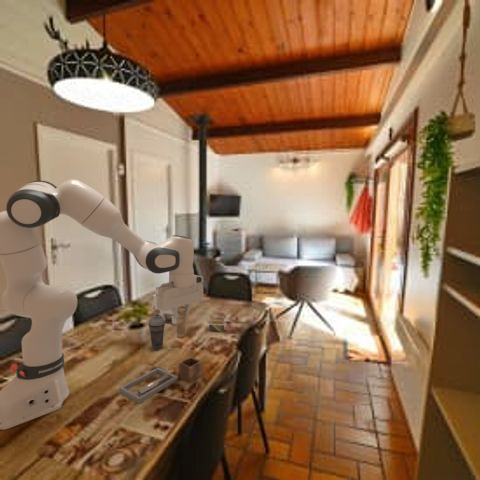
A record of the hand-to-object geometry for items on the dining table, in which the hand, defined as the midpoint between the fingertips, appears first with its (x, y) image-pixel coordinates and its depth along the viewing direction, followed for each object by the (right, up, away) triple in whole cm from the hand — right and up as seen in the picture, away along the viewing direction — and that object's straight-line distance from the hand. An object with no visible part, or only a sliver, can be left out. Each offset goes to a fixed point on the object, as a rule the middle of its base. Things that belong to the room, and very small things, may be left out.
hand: (181, 316), depth 115 cm
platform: (+9, -20, +48) cm, 53 cm away
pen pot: (+3, -24, +3) cm, 24 cm away
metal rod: (-8, -24, -5) cm, 26 cm away
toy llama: (-18, -18, +61) cm, 66 cm away
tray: (-11, -25, -3) cm, 27 cm away
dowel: (0, -7, +1) cm, 8 cm away
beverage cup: (-16, -21, +28) cm, 39 cm away
